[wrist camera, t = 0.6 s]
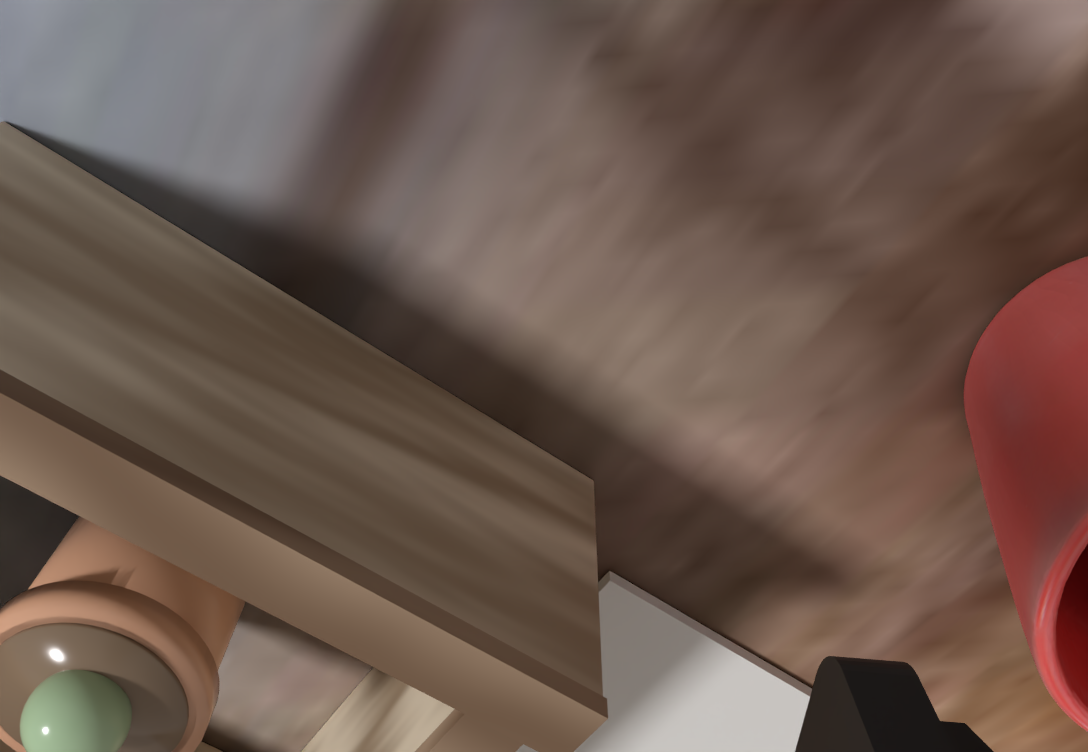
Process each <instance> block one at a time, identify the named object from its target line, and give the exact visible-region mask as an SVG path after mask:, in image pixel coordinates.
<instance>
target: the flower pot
mask: <svg viewBox="0 0 1088 752" xmlns="http://www.w3.org/2000/svg"><path fill="white" fill-rule="evenodd" d="M964 407H965V415H966V420H967V423H968V427H969V431H970V435H971V440H972V444H973V449H974V453H975V458H976V462H977V467H978V471H979V476H980V480H981V484H982V488H983V492H984V496H985V500H986V504H987V508H988V511H989V515H990V519H991V522H992V526H993V529H994V533H995V536H996V539H997V543H998V546H999V550H1000V553H1001V557H1002V560H1003V564H1004V567H1005V571H1006V574H1007V577H1008V581H1009V584H1010V588H1011V591H1012V595H1013V598H1014V601H1015V604H1016V608H1017V611H1018V614H1019V617H1020V621H1021V624H1022V627H1023V630H1024V633H1025V636H1026V639H1027V642H1028V645H1029V648H1030V651H1031V654H1032V656H1033V659H1034V662H1035V664H1036V667H1037V670H1038V672H1039V674H1040V677H1041V679H1042V681H1043V683H1044V684H1045V686H1046V688H1047V690H1048V692H1049V693H1050V695H1051V696H1052V697H1053V699H1054V700H1055V701H1056V703H1057V704H1058V706H1059V707H1060V708H1061V709H1062V710H1063V711H1064V712H1065V713H1066V714H1067V715H1068V716H1069V717H1070V718H1071V719H1072V720H1073V721H1074V722H1076V723H1077V724H1078V725H1079V726H1081V727H1082V728H1083V729H1085V730H1086V731H1087V732H1088V256H1087V257H1083V258H1080V259H1078V260H1075V261H1072V262H1070V263H1067V264H1065V265H1063V266H1061V267H1059V268H1056V269H1054V270H1052V271H1050V272H1049V273H1047V274H1045V275H1043V276H1042V277H1040V278H1038V279H1036V280H1035V281H1034V282H1032V283H1031V284H1030V285H1028V286H1027V287H1025V288H1024V289H1023V290H1021V291H1020V292H1019V293H1018V294H1017V295H1016V296H1014V297H1013V298H1012V299H1011V300H1010V301H1009V302H1008V303H1007V304H1006V305H1005V306H1004V307H1003V308H1002V309H1001V310H1000V311H999V312H998V313H997V314H996V316H995V317H994V318H993V320H992V321H991V322H990V324H989V325H988V327H987V328H986V330H985V331H984V332H983V334H982V336H981V337H980V339H979V341H978V343H977V345H976V347H975V349H974V351H973V354H972V356H971V359H970V363H969V366H968V370H967V374H966V378H965V386H964Z"/></svg>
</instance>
